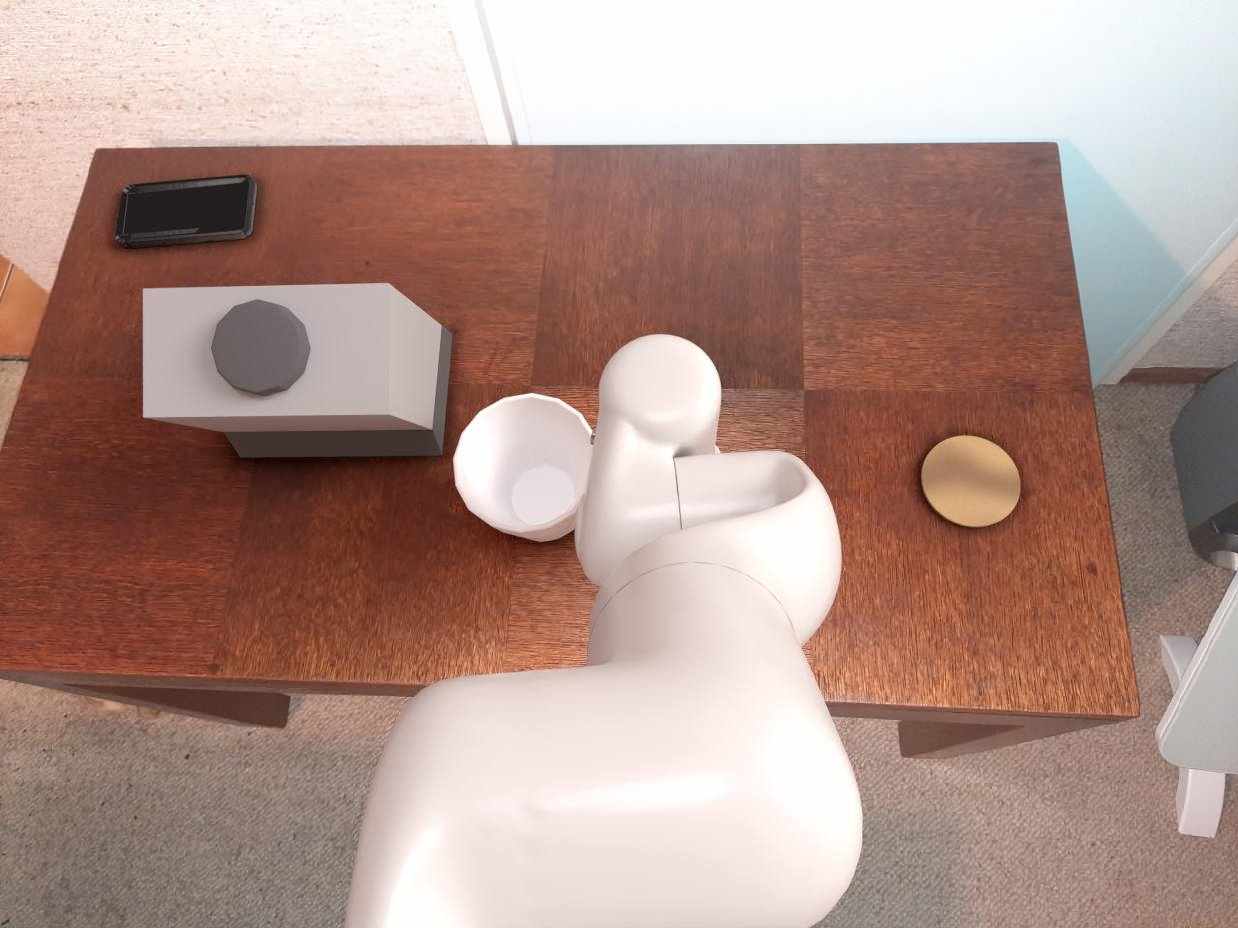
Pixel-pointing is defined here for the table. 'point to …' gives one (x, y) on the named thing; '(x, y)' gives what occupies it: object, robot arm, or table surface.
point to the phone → (186, 211)
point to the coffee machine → (298, 368)
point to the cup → (525, 466)
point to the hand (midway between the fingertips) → (664, 521)
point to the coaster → (970, 481)
